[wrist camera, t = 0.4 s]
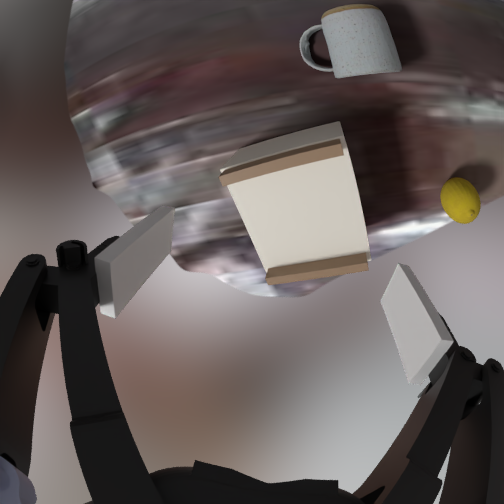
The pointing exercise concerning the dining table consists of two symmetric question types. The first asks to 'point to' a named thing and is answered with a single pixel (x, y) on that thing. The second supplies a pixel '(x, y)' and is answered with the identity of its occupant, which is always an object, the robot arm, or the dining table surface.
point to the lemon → (460, 200)
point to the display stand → (300, 204)
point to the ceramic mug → (355, 41)
